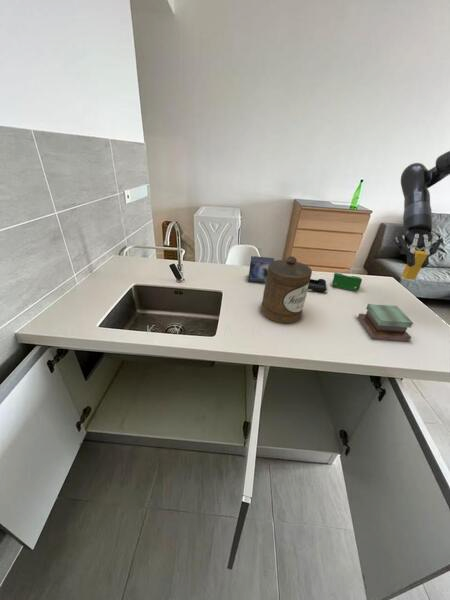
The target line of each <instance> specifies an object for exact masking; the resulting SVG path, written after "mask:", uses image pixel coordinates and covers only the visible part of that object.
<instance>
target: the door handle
mask: <svg viewBox="0 0 450 600" xmlns="http://www.w3.org/2000/svg"><path fill="white" fill-rule="evenodd" d="M327 290H328V289H327V281H326V280H325V279H324V278H318V279H313V278H310V281H309V286H308V290H307V292H313V291H315V292H318V293H325V292H327Z"/></svg>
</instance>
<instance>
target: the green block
mask: <svg viewBox="0 0 450 600" xmlns="http://www.w3.org/2000/svg"><path fill="white" fill-rule="evenodd" d="M362 281H363V279H362V278H361V277H360V276H355V275H352V276H351V275H345V274H343V273H339V272H334V274H333V278H332V281H331V284H332V286H333V287H334V288H339V289H344V290H348V291H353V292H357V291H359V290H360V287H361V285H362Z"/></svg>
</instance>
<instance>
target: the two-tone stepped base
mask: <svg viewBox="0 0 450 600" xmlns="http://www.w3.org/2000/svg"><path fill="white" fill-rule="evenodd" d="M365 309H366V310H367V311H366V313H359V314H358V315H357V319H358V321H359V322H360V324H361V325H362V327H363V328H364V330H365V331H366V332H367V334H368V335H369V337H370V338H371V339H372V340H380V341H395V342H410V340H411V339H412V336H411V335H410V334H409V333H408V332H407V329H410V328H412V326H413V324H414V322H413V320H411V319H410V318H409V317H408V316H407V315H406V314H405V312H403V311H402V310H401V308H399V307H398V306H397V305H388V304H375V303H367V306H366V307H365Z"/></svg>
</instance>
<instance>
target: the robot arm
mask: <svg viewBox="0 0 450 600" xmlns="http://www.w3.org/2000/svg"><path fill="white" fill-rule="evenodd" d="M448 176H450V150H449V151H448V150H447V151H446V152H444V153H442V154H441V155H439V156H437V158H436V159H435V166H433V167H432V168H430V169H428V168H427V167H426V166H425V164H423V163H421V162H414V163H411V164H409V165H408V166H406V167H405V168H404V169H403V171H402V172H401V175H400V185H401V192H402V194H403V199H404V201H403V217H402V220H403V221H402V223H403V225H402V227H403V228H402V229H403V231H402V234H398V235H397V236H396V237H395V238H394V239H393V240H394V243H395V245H396V247H397V250H398V252H399V254H401V255H405V256H406V265H408V266H409V267H412V266H414V265H415V254H414V252H415V250H416V248H417V251H424V252H425V253H427V254H428V255H427V257H426V259H425V261H424V263H423V265H422V267H421V269H424V268H427V267H428V266H429V264H430V257H432V256H434V255H436V253H437V252H438V249H439V248H440V245H441V244H442V242H443V240H442V238H435V237H434V235H433V234H432V229H433V217H432V211H433V210H432V206H431V193H430V190H429V188H431V187H433V186H434V185H436V184H437V183H439V182H441V181H442V180H443V179H445V178H446V177H448Z"/></svg>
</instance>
